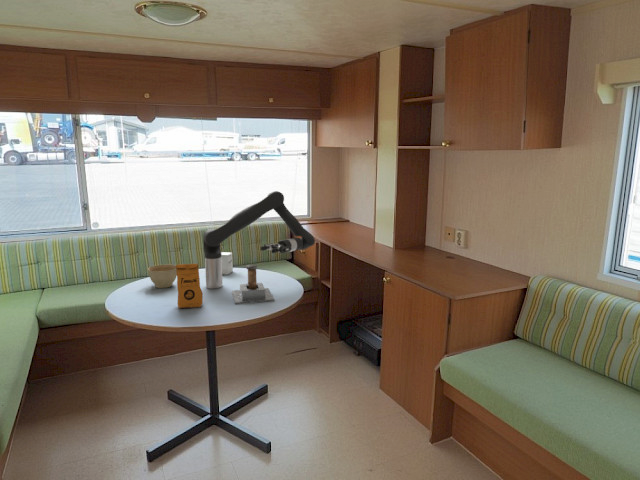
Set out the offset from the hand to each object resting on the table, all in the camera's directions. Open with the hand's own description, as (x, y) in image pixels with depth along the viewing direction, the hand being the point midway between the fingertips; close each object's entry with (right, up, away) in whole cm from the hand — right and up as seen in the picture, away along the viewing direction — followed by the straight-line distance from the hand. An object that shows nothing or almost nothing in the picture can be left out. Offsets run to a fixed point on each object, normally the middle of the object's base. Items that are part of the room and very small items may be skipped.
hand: (266, 249), depth 248 cm
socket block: (-7, -25, -3) cm, 26 cm away
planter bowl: (-61, -21, +15) cm, 66 cm away
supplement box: (-31, -16, +43) cm, 55 cm away
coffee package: (-36, -28, -18) cm, 49 cm away
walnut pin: (-7, -24, -4) cm, 25 cm away
